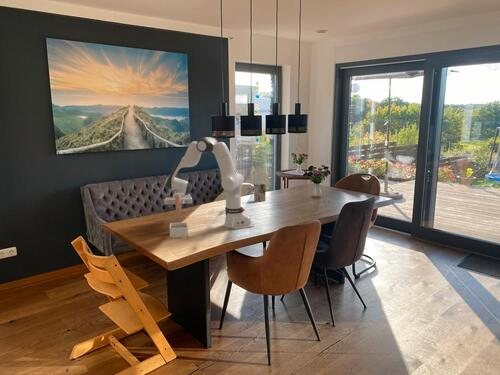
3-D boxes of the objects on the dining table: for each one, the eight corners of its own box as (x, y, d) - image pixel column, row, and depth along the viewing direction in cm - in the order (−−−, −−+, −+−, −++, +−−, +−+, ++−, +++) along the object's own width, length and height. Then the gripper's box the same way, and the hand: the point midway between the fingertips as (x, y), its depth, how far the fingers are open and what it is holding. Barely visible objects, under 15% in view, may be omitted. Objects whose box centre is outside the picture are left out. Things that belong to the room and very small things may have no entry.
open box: (187, 231, 273) (187, 222, 272) (187, 236, 261) (187, 227, 260) (170, 232, 271) (170, 223, 270) (170, 237, 259) (169, 228, 258)
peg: (181, 213, 279) (180, 194, 277) (181, 214, 276) (180, 195, 273) (176, 213, 279) (175, 194, 276) (175, 215, 275) (175, 196, 272)
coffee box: (261, 199, 370) (261, 183, 367) (265, 200, 365) (265, 184, 362) (253, 201, 365) (253, 184, 362) (258, 202, 360) (258, 185, 357)
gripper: (164, 195, 286) (163, 199, 272) (191, 194, 289) (192, 198, 276) (164, 203, 287) (163, 208, 274) (192, 202, 290) (192, 206, 277)
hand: (178, 203), depth 275 cm, fingers closed on peg, 4 cm apart
